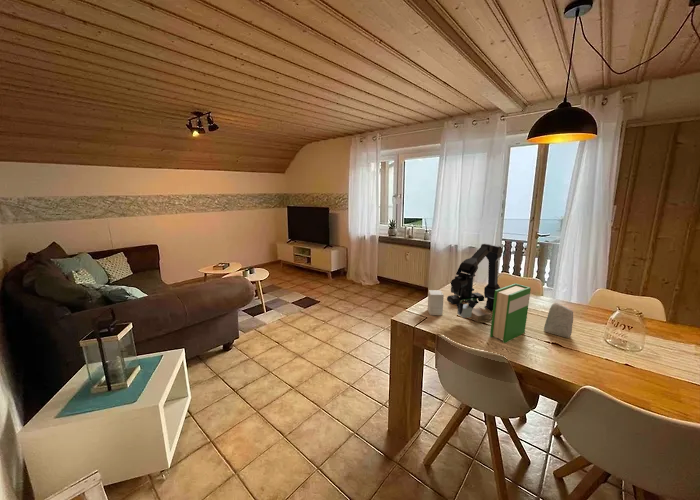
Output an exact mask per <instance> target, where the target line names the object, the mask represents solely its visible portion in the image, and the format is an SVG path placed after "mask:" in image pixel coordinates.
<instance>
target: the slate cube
mask: <svg viewBox="0 0 700 500" xmlns="http://www.w3.org/2000/svg"><path fill="white" fill-rule="evenodd" d="M456 313H457V315H459V316H460V317H461V318H463V319H464V318H465V319H466V318H469V317H471V315H472V308H471V307H470V306H468V303H463V309H462V313H461V314H459V312H458V311H457V312H456Z"/></svg>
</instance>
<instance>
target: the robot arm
mask: <svg viewBox="0 0 700 500" xmlns="http://www.w3.org/2000/svg"><path fill="white" fill-rule="evenodd" d="M503 252H504V251H503V247H502V246H500V245H493V244H489V243H481V245H480V247H479V248H478V249H477V251H475V253H474V254H473V255H472V256H471V257H470V258H466V259H464V260H462V262H461V263H460V265H459V266H458V269H457V270H456V274H455V276H454V278H453V279H452V280H451V282H450V292H451V293H452V295H448V296H447V297H446V301H447V302H448V303H450V304H451V305H453V306H454V305H455V306H456V308H457V312H459V314H461V313H462V309H463V305H464V303H463V301H465V300H468V302H467V305H468V306H470V307H471V308H472V309H473V308H476V307H475V306H477V305H478V304H479V302H485V299H486V303H485V305H484V308H485V309H487V310H489V311H491V312H493V304H494V295H495V290H498V289H500V288H501V287H500V285H499V283H498V278H499V260H500V259H501V257H503V256H502V255H503ZM485 257H486V259H487V261H488V271H487V273H488V274H487V277H488V278H487V284H486V285H485V287H484V291H483V293H484V295H483V294H481V293H479V292H474V291H475V288H474V277H476V273H477V272H478V268H479V264H480V263H481V262H482V261H483V260H484V259H485ZM453 294H457V295H458V296H459V297H456V296H455V295H453Z"/></svg>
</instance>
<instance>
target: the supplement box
mask: <svg viewBox="0 0 700 500" xmlns="http://www.w3.org/2000/svg"><path fill="white" fill-rule="evenodd" d="M427 295H428V297H427V299H428V300H427V311H428V314H429V315H430V316H443V313H444V297H445V295H444V293H443V291H442V290H438V289H436V290H434V289H429V290H428V293H427Z"/></svg>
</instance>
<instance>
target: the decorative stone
mask: <svg viewBox="0 0 700 500" xmlns="http://www.w3.org/2000/svg"><path fill="white" fill-rule="evenodd" d="M573 323H574V311H573V310H571V309H570V308H568V307H566V306H564V305H562V304H560V303H559V302H554V303H552V304H551V306H550V308H549V310H548V314H547V318H546V320H545V324H544V328H543V331H544V332H546V333H548V334H552V335H556V336H559V337H562V338H567V339H570V338H571V336H572V333H573V332H572V331H573Z"/></svg>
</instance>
